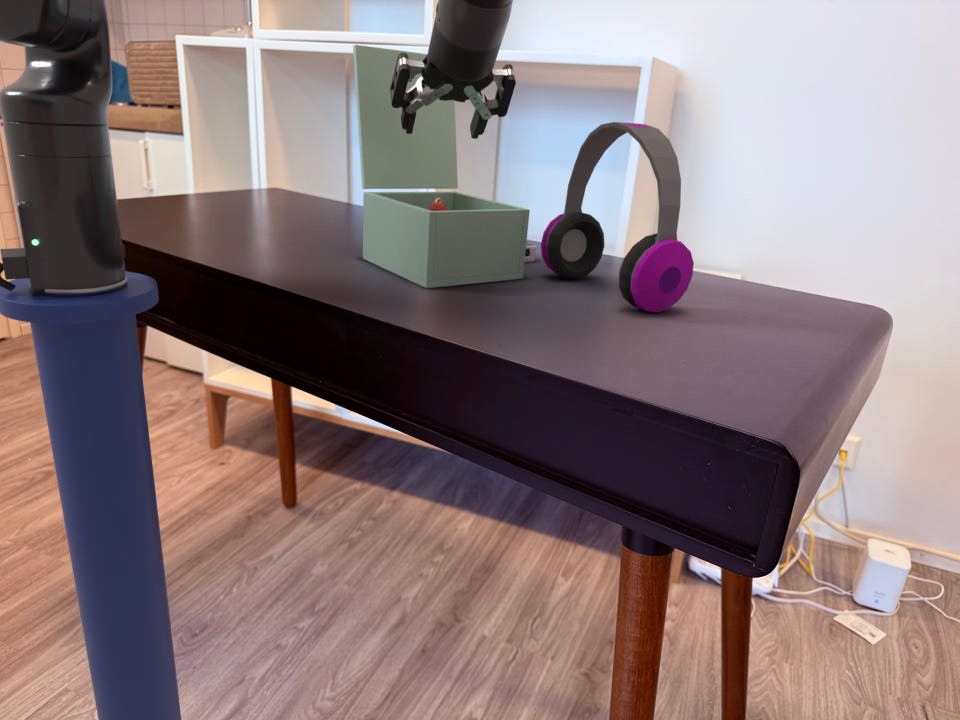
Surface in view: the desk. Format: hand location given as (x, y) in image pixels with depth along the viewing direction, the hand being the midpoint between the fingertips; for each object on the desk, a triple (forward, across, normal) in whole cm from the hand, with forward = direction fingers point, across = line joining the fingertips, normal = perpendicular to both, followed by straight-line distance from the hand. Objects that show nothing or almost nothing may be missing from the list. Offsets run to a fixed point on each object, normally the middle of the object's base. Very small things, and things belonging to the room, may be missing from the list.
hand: (441, 131), depth 85 cm
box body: (+11, 0, -14) cm, 17 cm away
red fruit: (+11, 0, -13) cm, 17 cm away
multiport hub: (+17, +12, -7) cm, 22 cm away
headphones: (+2, +19, -23) cm, 30 cm away
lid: (+4, -3, +5) cm, 7 cm away
